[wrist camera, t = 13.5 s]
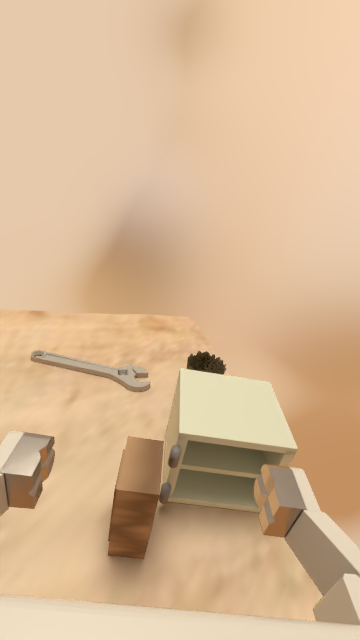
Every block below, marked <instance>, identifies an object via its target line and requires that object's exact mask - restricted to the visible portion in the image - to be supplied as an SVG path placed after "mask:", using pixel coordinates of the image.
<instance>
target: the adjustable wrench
mask: <svg viewBox="0 0 360 640" xmlns="http://www.w3.org/2000/svg"><path fill="white" fill-rule="evenodd" d="M37 355H41V357H34V356H37ZM31 360H32V361H34V362H39V363H43V364H48V365H52V366H57V367H61V368H66V369H70V370H75V371H79V372H84V373H88V374H93V375H97V376H102V377H106V378H110V379H112V380H114V381H116V382H118V383H119V384H121V385H122V386H124V387H125V388H127V389H128V390H130V391H134V392H142V391H145V390H147V389H149V388H150V382H138V381H137V380H136V379H135V377H137V378H144V377H148V371H147V370H145V369H143V368H141V367H137V366H132V364H131V365H129V366H126V367H119V368H115V367H109V366H105V365H100V364H96V363H92V362H88V361H83V360H79V359H75V358H71V357H66V356H62V355H58V354H54V353H49V352H45V351H40V350H37V351H34V352H32V353H31ZM118 374H119V375H118Z"/></svg>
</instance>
